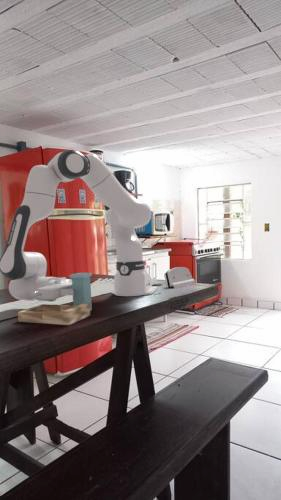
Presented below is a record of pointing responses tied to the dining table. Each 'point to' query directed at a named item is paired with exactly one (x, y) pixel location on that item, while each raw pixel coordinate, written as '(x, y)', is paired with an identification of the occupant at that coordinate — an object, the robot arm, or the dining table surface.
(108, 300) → the dining table surface
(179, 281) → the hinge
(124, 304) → the dining table surface
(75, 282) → the post
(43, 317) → the keyhole board
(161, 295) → the dining table surface
